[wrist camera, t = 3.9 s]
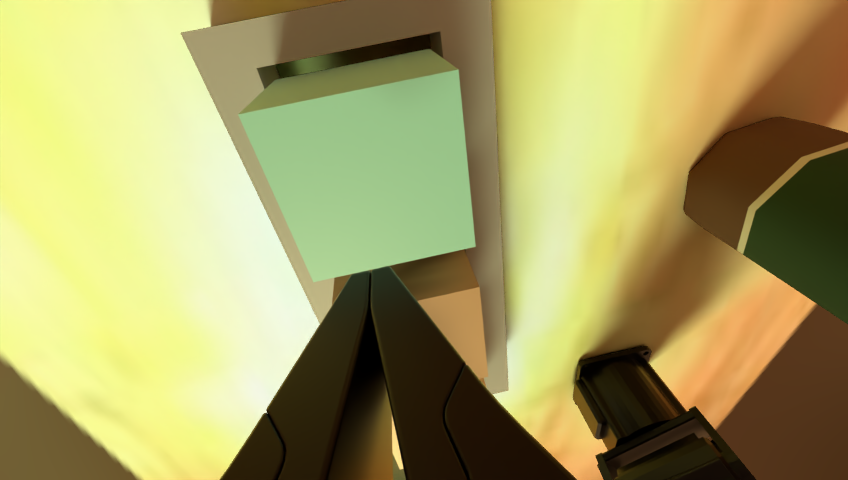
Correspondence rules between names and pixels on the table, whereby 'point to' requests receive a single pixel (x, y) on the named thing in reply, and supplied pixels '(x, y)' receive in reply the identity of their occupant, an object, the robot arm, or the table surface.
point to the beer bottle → (780, 203)
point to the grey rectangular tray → (353, 28)
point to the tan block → (446, 301)
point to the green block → (367, 161)
